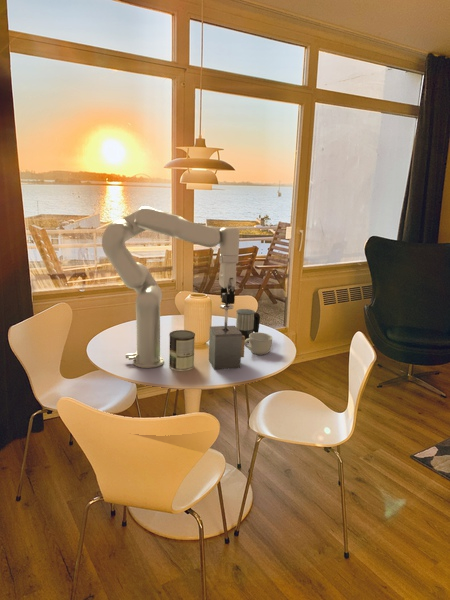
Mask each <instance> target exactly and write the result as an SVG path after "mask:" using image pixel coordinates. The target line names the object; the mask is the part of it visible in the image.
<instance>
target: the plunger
mask: <svg viewBox="0 0 450 600" xmlns="http://www.w3.org/2000/svg"><path fill="white" fill-rule="evenodd" d="M227 294H228V293H227V292H225V293H222V298H221V301H220V303H221V304H219V308H220V309H222V310H224V325H223V326H224V331H227V326H228V319H229V310H233V309H234V306H235V305H234V304H227V303H226V298H227Z"/></svg>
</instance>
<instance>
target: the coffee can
mask: <svg viewBox="0 0 450 600" xmlns="http://www.w3.org/2000/svg"><path fill="white" fill-rule="evenodd" d="M195 336H196V333H195V332H193V331H191V330H186V329H179V330H178V329H176V330H172V331H171V332H169V335H168V337H169V359H168V361H169V363H168V366H169V369H171V370H172V371H176V372H187V371H191V370H193V369H194V367H195V342H196V340H195V339H196V338H195Z"/></svg>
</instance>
